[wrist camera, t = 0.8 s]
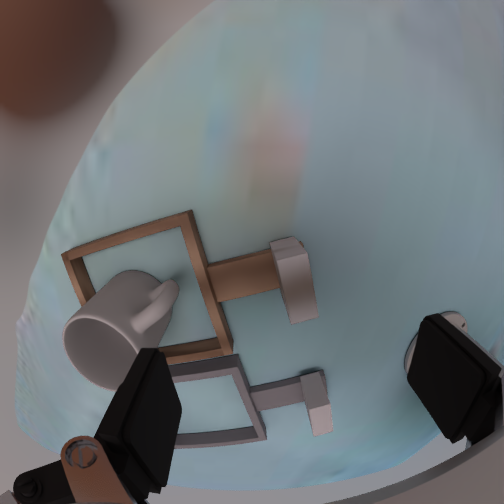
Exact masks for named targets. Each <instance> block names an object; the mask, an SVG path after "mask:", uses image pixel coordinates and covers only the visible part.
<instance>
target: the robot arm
mask: <svg viewBox="0 0 504 504" xmlns="http://www.w3.org/2000/svg"><path fill="white" fill-rule="evenodd" d="M405 370H406V373H407V380H408V383H409V384H410V386H411V387H412V389H413V390H414V391H415V393H416V394H417V396H418V397H419V399H420V400H421V402H422V403H423V405H424V406H425V407H426V409H427V410H428V412H429V413H430V415H431V416H432V418H433V419H434V421H435V423H436V424H437V426H438V427H439V429H440V430H441V432H442V433H443V435H444V436H445V438H447V439H450V441H451V442H452V443H455V442H457V441H459V440H461V439H463V437H464V436H466V437H467V442H466V448H465V451H463V452H461V453H459V454H458V455H456V456H454V457H452V458H450V459H449V460H447V461H445V462H443V463H441V464H439V465H437V466H435V467H433V468H430V469H428V470H426V471H424V472H422V473H419V474H417V475H415V476H412V477H410V478H408V479H405V480H403V481H400V482H398V483H395V484H392V485H389V486H386V487H384V488H381V489H378V490H375V491H371V492H368V493H365V494H361V495H358V496H354V497H351V498H347V499H343V500H339V501H334V502H330V503H325V504H504V366H503V365H502V364H501V363H500V362H499V361H498V360H497V359H496V358H494V357H493V356H492V355H491V354H490V353H489V352H488V351H487V350H486V349H484V348H483V347H482V346H481V345H480V344H479V343H478V342H477V341H475V340H474V339H473V338H472V337H471V336H470V335H468V334H467V323H466V320H465V319H464V317H463V316H461V315H460V314H459V313H457V312H445V313H443V314H441V315H440V314H439V313H436V314H432V315H428V316H426V317H425V318H424V319H423V321H422V322H421V324H420V328H419V332H418V334H417V335H416V337H415V338H414V340H413V341H412V343H411V345H410V347H409V349H408V351H407V354H406V358H405ZM181 414H182V407H181V403H180V400H179V397H178V394H177V392H176V389H175V386H174V383H173V380H172V376H171V373H170V370H169V367H168V364H167V360H166V357H165V354H164V353H163V352H160V351H159V349H158V348H141V349H140V351H139V353H138V354H137V356H136V358H135V360H134V362H133V364H132V366H131V368H130V370H129V372H128V373H127V375H126V377H125V379H124V381H123V383H121V384H120V385H119V387H118V389H117V391H116V393H115V395H114V397H113V399H112V401H111V403H110V405H109V407H108V409H107V411H106V413H105V415H104V417H103V419H102V421H101V423H100V425H99V427H98V429H97V432H96V434H95V436H94V438H93V437H89V436H78V437H74V438H72V439H70V440H69V441H68V442H66V443H65V444H64V446H63V448H62V450H61V454H60V455H61V460H59V461H56V462H53V463H51V464H48V465H45V466H42V467H39V468H37V469H33V470H30V471H27V472H24V473H22V474H20V475H19V476H18V477H17V478H16V480H15V482H14V486H13V491H14V492H11V491H10V490H8V491H6V492H5V493H3V494H2V495H1V496H0V504H149V502H148V501H147V500H146V499H147V498H148V495H149V492H152V493H158V494H160V492H161V487H165V486H166V485H167V481H168V476H169V471H170V466H171V461H172V456H173V451H174V447H175V442H176V437H177V432H178V428H179V423H180V419H181Z"/></svg>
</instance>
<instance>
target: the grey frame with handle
mask: <svg viewBox="0 0 504 504" xmlns="http://www.w3.org/2000/svg"><path fill="white" fill-rule="evenodd" d="M168 367H169V370H170V373H171V376H172V380H173V383H177V382H185V381H193V380H200V379H207V378H213V377H220V376H225V375H231V374H232V376H233V379H234V381H235V384H236V386H237V388H238V391H239V393H240V396H241V398H242V400H243V403H244V405H245V407H246V410H247V412H248V414H249V417H250V419H251V421H252V423H253V426H254V427H247V428H241V429H233V430H225V431H217V432H206V433H194V434H177V437H176V442H175V447H174V449H182V448H203V447H216V446H226V445H235V444H243V443H250V442H257V441H263V440H267V436H266V427H265V425H264V422H263V420H262V417H261V415H260V412H259V411H262V410H267V409H272V408H277V407H281V406H286V405H290V404H294V403H298V402H303V401H305V404H306V408H307V412H308V416H309V420H310V423H311V427H312V431H313V435H314V436H318V435H322V434H325V433H329V432H332V431H333V425H332V414H331V405H330V401H329V399H328V396H327V387H326V379H325V374H324V371H323V370H321V371H317V372H314V373H310V374H306V375H302V376H298V377H294V378H290V379H286V380H282V381H278V382H273V383H269V384H264V385H259V386H254V387H250V386H249V383H248V381H247V378H246V375H245V373H244V370H243V367H242V364H241V362H240V359H239V356H238V354H236V355H231V356H226V357H221V358H215V359H210V360H204V361H198V362H191V363H185V364H178V365H171V366H168Z"/></svg>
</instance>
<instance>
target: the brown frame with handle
mask: <svg viewBox="0 0 504 504" xmlns="http://www.w3.org/2000/svg"><path fill="white" fill-rule="evenodd" d="M178 226H180V227H181V230H182V233H183V237H184V240H185V243H186V247H187V250H188V253H189V256H190V259H191V262H192V265H193V269H194V272H195V275H196V278H197V281H198V284H199V287H200V290H201V293H202V296H203V298H204V301H205V304H206V307H207V310H208V313H209V315H210V318H211V321H212V324H213V327H214V329H215V332H216V335H217V337H218V338H213V339H208V340H202V341H197V342H191V343H186V344H180V345H174V346H168V347H161V348H158V349H159V351H160V352H163V353H164V354H165V357H166V360H167V364H175V363H182V362H189V361H195V360H201V359H207V358H213V357H218V356H224V355H229V354H233V339H232V336H231V333H230V330H229V327H228V324H227V321H226V318H225V315H224V312H223V309H222V306H221V303H220V302H223V301H227V300H231V299H236V298H240V297H244V296H248V295H253V294H257V293H261V292H265V291H269V290H273V289H277V288H280V289H281V294H282V298H283V301H284V304H285V307H286V310H287V313H288V316H289V319H290V323H291V325H292V324H296V323H299V322H303V321H307V320H311V319H314V318H318V317H319V315H318V309H317V303H316V297H315V291H314V286H313V280H312V274H311V269H310V264H309V258H308V253H307V252H306V251H305V249H304V246H303V243H302V242H301V241H300V242H298V241H297V240H296V238H295V237H290V238H286V239H281V240H277V241H273V242H269V243H270V247H271V249H268V250H264V251H260V252H256V253H252V254H248V255H244V256H240V257H236V258H232V259H228V260H224V261H220V262H216V263H212V264H208V262H207V259H206V256H205V253H204V249H203V246H202V243H201V239H200V236H199V232H198V229H197V226H196V222H195V219H194V215H193V212H192V210H189V211H185V212H182V213H178V214H175V215H172V216H168V217H165V218H162V219H158V220H155V221H152V222H149V223H145V224H142V225H139V226H136V227H133V228H130V229H127V230H124V231H121V232H118V233H115V234H112V235H109V236H106V237H103V238H100V239H97V240H94V241H91V242H89V243H86V244H83V245H80V246H77V247H75V248H72V249H70V250H68V251H66V252H64V253H62V254H61V256H62V259H63V262H64V264H65V267H66V270H67V272H68V275H69V278H70V280H71V283H72V285H73V288H74V290H75V292H76V295H77V297H78V299H79V302H80V304H81V306H83V305H84V304H86V303H87V302H88V301H89V300H90V299H91V298H92V297H93V296H94V295H95V291H94V289H93V287H92V284H91V282H90V279H89V276H88V274H87V271H86V269H85V266H84V263H83V260H82V258H81V256H84V255H87V254H90V253H93V252H96V251H99V250H102V249H106V248H109V247H112V246H115V245H118V244H121V243H124V242H128V241H131V240H134V239H137V238H141V237H144V236H147V235H151V234H154V233H157V232H161V231H164V230H168V229H171V228H175V227H178Z"/></svg>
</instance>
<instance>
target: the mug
mask: <svg viewBox="0 0 504 504" xmlns="http://www.w3.org/2000/svg"><path fill="white" fill-rule="evenodd" d="M178 294H179V286H178V284H177V283H176V282H175V281H174V280H167V281H165V282H164V283H162V284H161V283H160V282H159V281H158V280H157V279H155V278H154V277H153V276H151V275H149V274H147V273H144V272H141V271H136V270H130V271H125V272H121V273H119V274H117V275H116V276H115V277H113V278H112V279H111V280H110V281H109V282H108V283H107V284H106V285H105V286H104V287H103V288H102V289H101V290H100V291H98V292H97V293H96V294H95V295H94V296H93V297H92V298H91V299H90V300H89V301H88V302H87V303H86V304H84V305H83V306H82V307H81V308H80V309H79V310H78V311H77V312H76V313H75V314H74V315H73V316H72V317H71V318H70V319H69V320H68V321H67V323H66V325H65V327H64V330H63V346H64V349H65V352H66V354H67V356H68V358H69V360H70V362H71V363H72V365H73V366H74V367H75V369H76V370H77V371H78V372H79V373H80V374H81V375H82V376H83V377H85V378H86V379H87V380H88V381H90V382H91V383H93V384H95V385H97V386H99V387H101V388H103V389H106V390H110V391H115V392H116V391H117V389H118V387H119V385H120V384H121V383H123V381H124V379H125V377H126V375H127V373H128V372H129V370H130V368H131V366H132V364H133V362H134V360H135V358H136V356H137V354H138V353H139V351H140V349H141V348H157V347H158V345H159V343H160V340H161V338H162V336H163V334H164V332H165V330H166V328H167V326H168V324H169V322H170V319H171V314H172V305H173V304H174V302H175V300H176V298H177V296H178Z"/></svg>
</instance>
